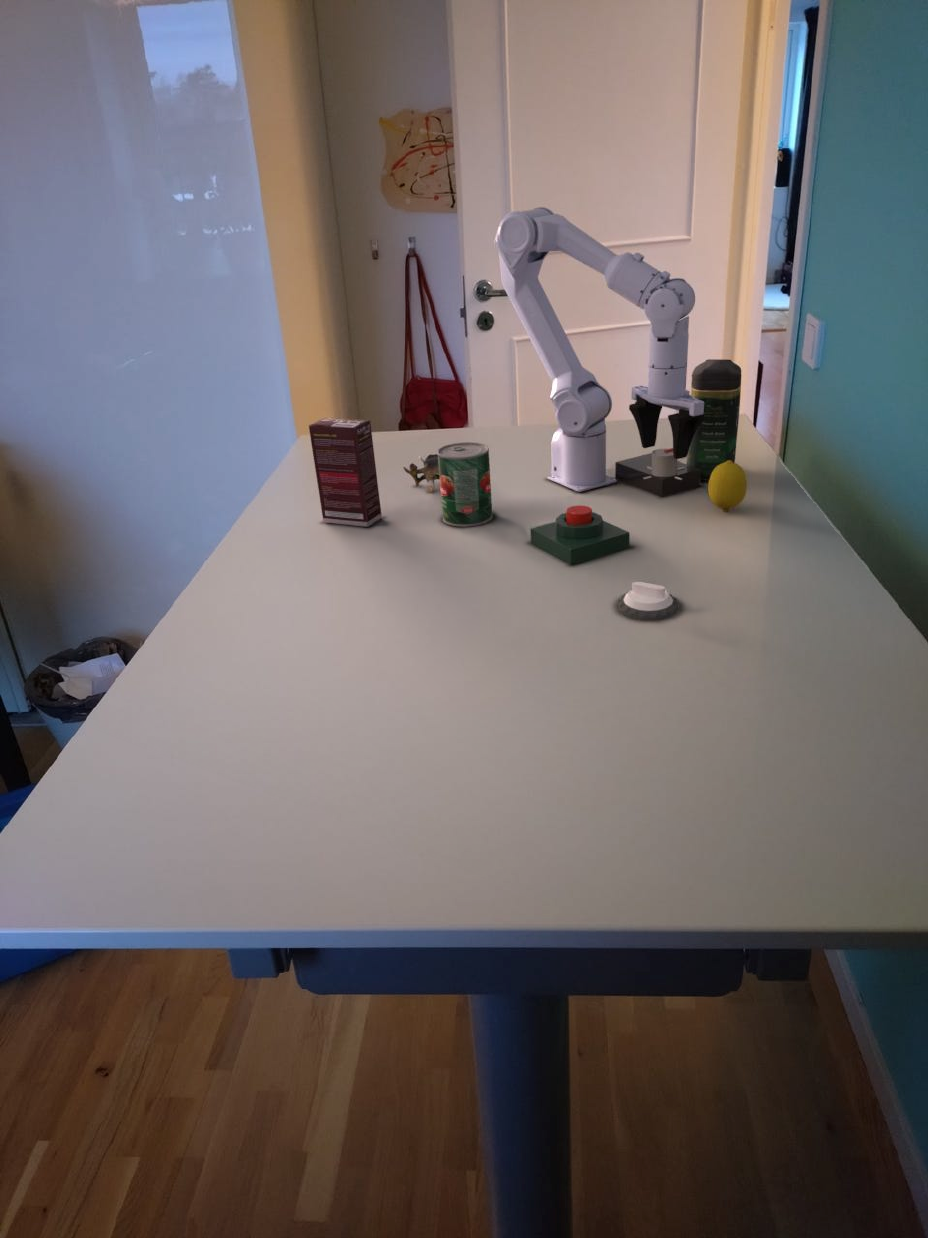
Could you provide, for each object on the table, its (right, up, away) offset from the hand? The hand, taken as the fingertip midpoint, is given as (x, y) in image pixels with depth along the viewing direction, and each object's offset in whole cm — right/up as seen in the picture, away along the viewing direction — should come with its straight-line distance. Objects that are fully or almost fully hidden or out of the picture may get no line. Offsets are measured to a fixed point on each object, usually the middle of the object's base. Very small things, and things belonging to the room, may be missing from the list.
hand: (664, 452), depth 143 cm
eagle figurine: (-36, -4, +12) cm, 39 cm away
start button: (-16, -13, -17) cm, 26 cm away
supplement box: (-50, -11, +1) cm, 51 cm away
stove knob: (-9, -25, -33) cm, 43 cm away
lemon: (+8, -10, -7) cm, 15 cm away
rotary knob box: (0, -5, +6) cm, 7 cm away
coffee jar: (+10, -2, +10) cm, 14 cm away
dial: (0, -3, +2) cm, 4 cm away
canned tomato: (-31, -11, -2) cm, 33 cm away
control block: (-15, -16, -15) cm, 27 cm away
